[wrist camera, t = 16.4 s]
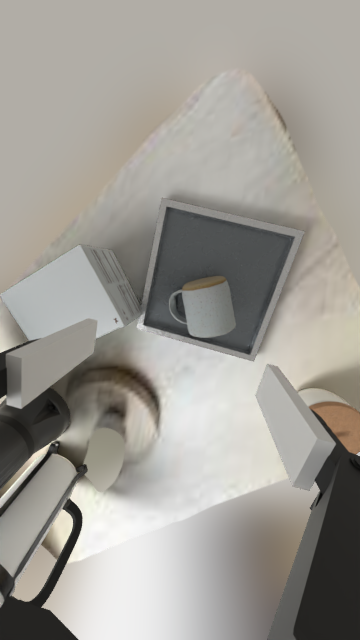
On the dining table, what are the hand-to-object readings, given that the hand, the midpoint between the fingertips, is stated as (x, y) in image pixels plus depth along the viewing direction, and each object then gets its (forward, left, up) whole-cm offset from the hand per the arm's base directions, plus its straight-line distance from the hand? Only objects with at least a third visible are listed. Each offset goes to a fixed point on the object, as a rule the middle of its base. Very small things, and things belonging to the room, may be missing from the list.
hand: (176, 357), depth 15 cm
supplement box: (-19, -4, -23) cm, 30 cm away
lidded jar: (+26, -13, -22) cm, 37 cm away
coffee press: (-21, -50, -22) cm, 59 cm away
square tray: (+2, +4, -22) cm, 23 cm away
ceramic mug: (+1, +4, -22) cm, 22 cm away
